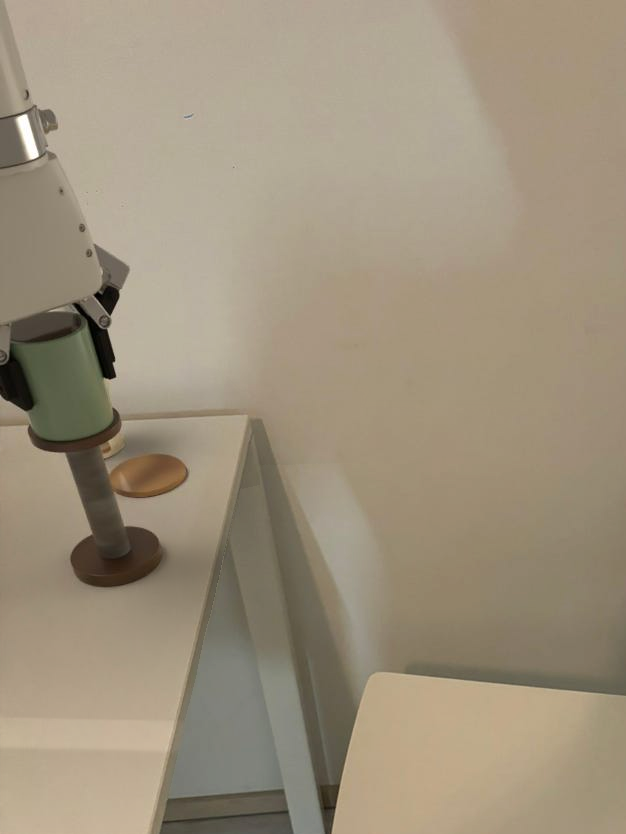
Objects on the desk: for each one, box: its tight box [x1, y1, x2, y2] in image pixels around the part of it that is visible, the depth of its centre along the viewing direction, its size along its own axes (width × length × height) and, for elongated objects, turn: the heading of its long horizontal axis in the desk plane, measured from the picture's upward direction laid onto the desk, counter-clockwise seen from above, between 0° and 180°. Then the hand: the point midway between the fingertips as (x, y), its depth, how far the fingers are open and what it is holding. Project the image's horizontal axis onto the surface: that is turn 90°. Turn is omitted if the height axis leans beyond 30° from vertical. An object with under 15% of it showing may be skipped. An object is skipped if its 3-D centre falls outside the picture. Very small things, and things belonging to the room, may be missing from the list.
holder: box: [27, 406, 163, 587], centre depth 81 cm, size 8×8×14 cm
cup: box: [9, 311, 114, 441], centre depth 74 cm, size 6×6×8 cm
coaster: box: [109, 453, 187, 498], centre depth 97 cm, size 8×8×1 cm
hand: (62, 387), depth 75 cm, fingers closed on cup, 6 cm apart
